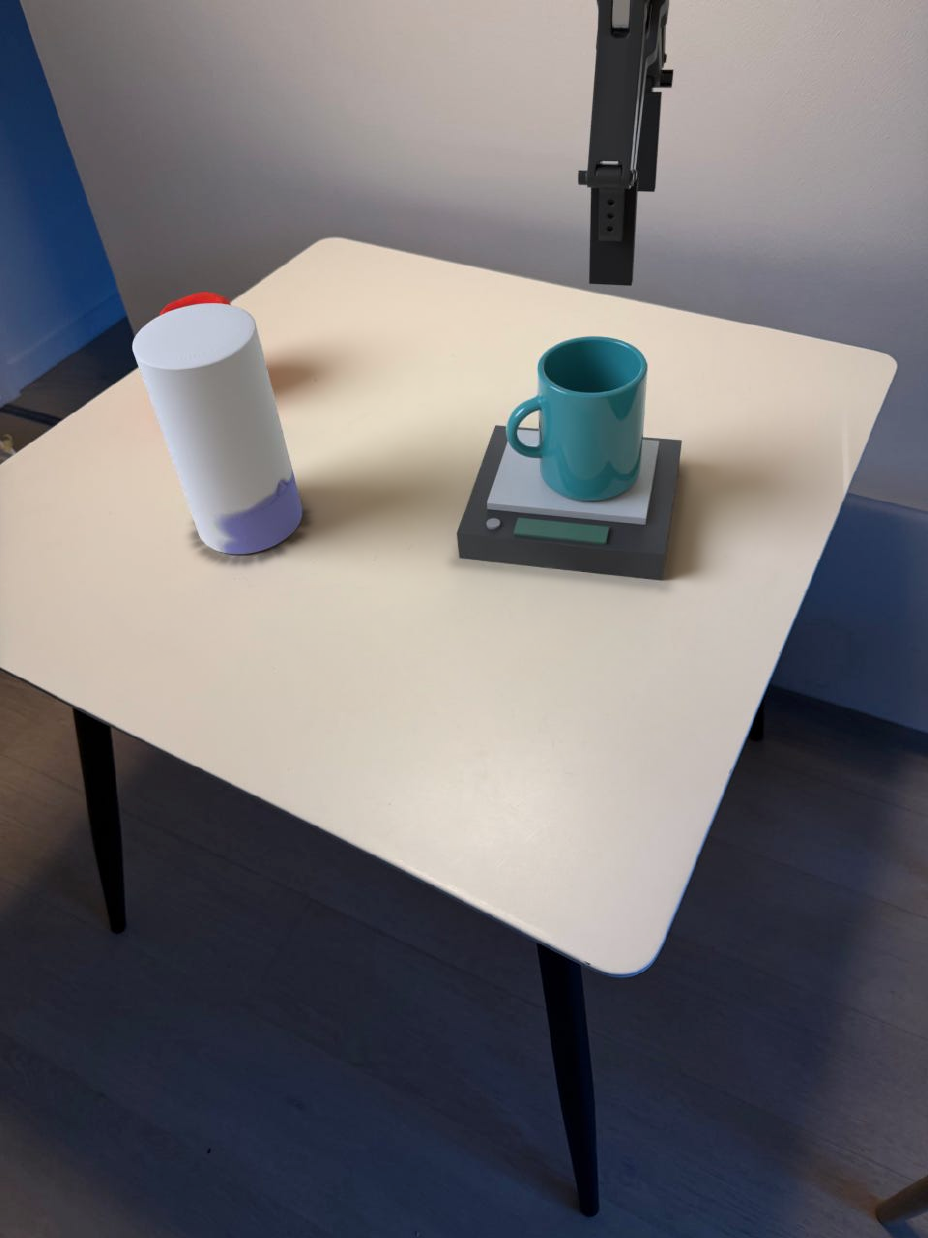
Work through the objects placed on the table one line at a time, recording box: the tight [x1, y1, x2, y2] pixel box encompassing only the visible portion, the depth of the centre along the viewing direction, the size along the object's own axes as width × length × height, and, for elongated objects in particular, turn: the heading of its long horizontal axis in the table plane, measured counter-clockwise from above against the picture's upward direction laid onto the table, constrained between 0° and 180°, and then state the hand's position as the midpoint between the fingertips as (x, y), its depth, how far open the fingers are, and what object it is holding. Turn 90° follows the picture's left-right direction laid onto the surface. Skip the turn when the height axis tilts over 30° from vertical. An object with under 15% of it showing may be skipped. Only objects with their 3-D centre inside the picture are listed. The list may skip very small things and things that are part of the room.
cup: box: [505, 335, 649, 501], centre depth 85 cm, size 9×12×11 cm
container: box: [131, 303, 303, 555], centre depth 87 cm, size 10×10×20 cm
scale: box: [456, 424, 683, 581], centre depth 91 cm, size 18×16×4 cm
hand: (624, 233), depth 68 cm, fingers open, 13 cm apart
